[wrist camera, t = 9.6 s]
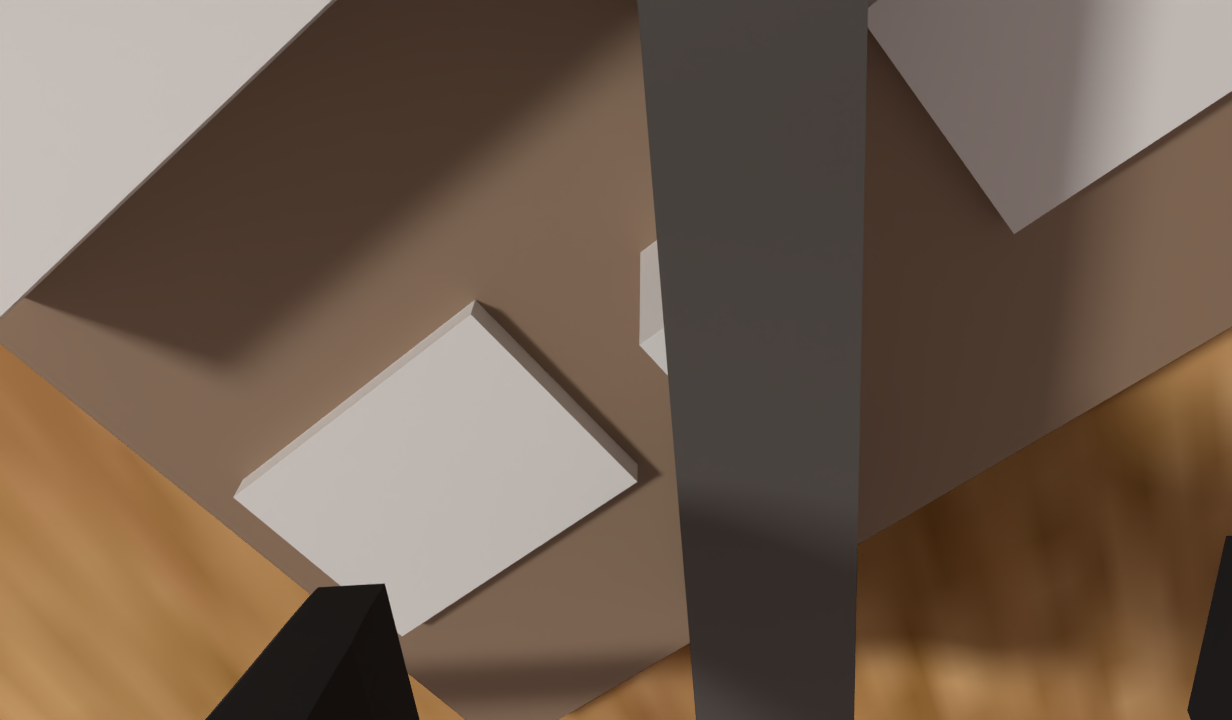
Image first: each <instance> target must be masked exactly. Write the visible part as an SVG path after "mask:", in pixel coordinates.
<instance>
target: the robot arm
mask: <svg viewBox="0 0 1232 720" xmlns="http://www.w3.org/2000/svg"><path fill="white" fill-rule="evenodd" d="M1187 711H1188V713H1189V716H1190V719H1191V720H1232V536H1226V540H1225V544H1224V549H1223V553H1222V558H1221V562H1220V567H1219V571H1218V576H1217V580H1216V584H1215V589H1214V593H1213V598H1212V602H1211V607H1210V611H1209V616H1208V620H1207V625H1206V629H1205V634H1204V638H1203V643H1202V647H1201V652H1200V656H1199V661H1198V665H1197V670H1196V674H1195V678H1194V683H1193V687H1192V692H1191V696H1190V701H1189V705H1188V710H1187ZM205 720H419V716H418V712H417V708H416V705H415V701H414V697H413V693H412V689H411V685H410V681H409V677H408V673H407V669H406V665H405V661H404V657H403V653H402V649H401V645H400V642H399V638H398V634H397V630H396V626H395V622H394V618H393V614H392V610H391V606H390V602H389V598H388V594H387V590H386V586H385V583H384V584H366V585H348V586H331V587H318V588H317V589H316V590H315V591H314V592H313V593H312V594H311V595H310V596H309V597H308V599H307V600H306V601H305V602H304V603H303V604H302V606H301V607H300V608H299V609H298V610H297V611H296V612H295V614H294V615H293V616H292V617H291V618H290V619H289V621H288V622H287V623H286V624H285V625H284V627H283V628H282V629H281V630H280V631H279V633H278V634H277V635H276V636H275V637H274V639H273V640H272V641H271V642H270V643H269V645H268V646H267V647H266V648H265V649H264V651H263V652H262V653H261V654H260V655H259V657H258V658H257V659H256V660H255V661H254V663H253V664H252V665H251V666H250V667H249V669H248V670H247V671H246V672H245V673H244V675H243V676H242V677H241V678H240V679H239V681H238V682H237V683H236V684H235V685H234V686H233V688H232V689H231V690H230V691H229V692H228V694H227V695H226V696H225V697H224V698H223V699H222V701H221V702H220V703H219V704H218V705H217V707H216V708H215V709H214V710H213V711H212V712H211V714H210V715H209V716H208V717H207V718H206V719H205Z"/></svg>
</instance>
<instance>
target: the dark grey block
mask: <svg viewBox="0 0 1232 720" xmlns="http://www.w3.org/2000/svg"><path fill="white" fill-rule="evenodd" d="M637 4H638V16H639V29H640V41H641V53H642V65H643V78H644V90H645V102H646V114H647V126H648V139H649V151H650V163H651V175H652V187H653V200H654V212H655V224H656V236H657V248H658V261H659V273H660V285H661V297H662V310H663V322H664V334H665V346H666V358H667V371H668V383H669V395H670V407H671V419H672V432H673V444H674V456H675V468H676V480H677V493H678V505H679V517H680V529H681V542H682V554H683V566H684V578H685V590H686V603H687V615H688V627H689V639H690V651H691V664H692V676H693V688H694V700H695V713H696V720H854V694H855V642H856V591H857V540H858V489H859V438H860V387H861V336H862V284H863V233H864V182H865V131H866V80H867V29H868V0H637Z"/></svg>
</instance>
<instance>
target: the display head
mask: <svg viewBox="0 0 1232 720" xmlns="http://www.w3.org/2000/svg"><path fill="white" fill-rule="evenodd" d="M1230 327H1232V0H868V29H867V80H866V131H865V182H864V233H863V284H862V336H861V387H860V438H859V489H858V540H857V545H858V544H860V543H862V542H864V541H865V540H867V539H869V538H870V537H872V536H874V535H876V534H877V533H879V532H881V531H882V530H884V529H886V528H888V527H889V526H891V525H893V524H894V523H896V522H898V521H900V520H901V519H903V518H905V517H906V516H908V515H910V514H912V513H913V512H915V511H917V510H918V509H920V508H922V507H924V506H925V505H927V504H929V503H930V502H932V501H934V500H936V499H937V498H939V497H941V496H942V495H944V494H946V493H948V492H949V491H951V490H953V489H954V488H956V487H958V486H960V485H961V484H963V483H965V482H966V481H968V480H970V479H971V478H973V477H975V476H977V475H978V474H980V473H982V472H983V471H985V470H987V469H989V468H990V467H992V466H994V465H995V464H997V463H999V462H1001V461H1002V460H1004V459H1006V458H1007V457H1009V456H1011V455H1013V454H1014V453H1016V452H1018V451H1019V450H1021V449H1023V448H1025V447H1026V446H1028V445H1030V444H1031V443H1033V442H1035V441H1037V440H1038V439H1040V438H1042V437H1043V436H1045V435H1047V434H1049V433H1050V432H1052V431H1054V430H1055V429H1057V428H1059V427H1061V426H1062V425H1064V424H1066V423H1067V422H1069V421H1071V420H1073V419H1074V418H1076V417H1078V416H1079V415H1081V414H1083V413H1085V412H1086V411H1088V410H1090V409H1091V408H1093V407H1095V406H1097V405H1098V404H1100V403H1102V402H1103V401H1105V400H1107V399H1109V398H1110V397H1112V396H1114V395H1115V394H1117V393H1119V392H1121V391H1122V390H1124V389H1126V388H1127V387H1129V386H1131V385H1132V384H1134V383H1136V382H1138V381H1139V380H1141V379H1143V378H1144V377H1146V376H1148V375H1150V374H1151V373H1153V372H1155V371H1156V370H1158V369H1160V368H1162V367H1163V366H1165V365H1167V364H1168V363H1170V362H1172V361H1174V360H1175V359H1177V358H1179V357H1180V356H1182V355H1184V354H1186V353H1187V352H1189V351H1191V350H1192V349H1194V348H1196V347H1198V346H1199V345H1201V344H1203V343H1204V342H1206V341H1208V340H1210V339H1211V338H1213V337H1215V336H1216V335H1218V334H1220V333H1222V332H1223V331H1225V330H1227V329H1228V328H1230ZM0 344H2V345H3V346H4V347H5V348H6V349H8V350H9V351H10V352H11V353H13V354H14V355H15V356H16V357H18V358H19V359H20V360H21V361H23V362H24V363H25V364H26V365H28V366H29V367H30V368H31V369H32V370H34V371H35V372H36V373H37V374H39V375H40V376H41V377H42V378H44V379H45V380H46V381H47V382H49V383H50V384H51V385H52V386H53V387H55V388H56V389H57V390H58V391H60V392H61V393H62V394H63V395H65V396H66V397H67V398H68V399H70V400H71V401H72V402H73V403H74V404H76V405H77V406H78V407H79V408H81V409H82V410H83V411H84V412H86V413H87V414H88V415H89V416H91V417H92V418H93V419H94V420H96V421H97V422H98V423H99V424H100V425H102V426H103V427H104V428H105V429H107V430H108V431H109V432H110V433H112V434H113V435H114V436H115V437H117V438H118V439H119V440H120V441H121V442H123V443H124V444H125V445H126V446H128V447H129V448H130V449H131V450H133V451H134V452H135V453H136V454H138V455H139V456H140V457H141V458H142V459H144V460H145V461H146V462H147V463H149V464H150V465H151V466H152V467H154V468H155V469H156V470H157V471H159V472H160V473H161V474H162V475H164V476H165V477H166V478H167V479H168V480H170V481H171V482H172V483H173V484H175V485H176V486H177V487H178V488H180V489H181V490H182V491H183V492H185V493H186V494H187V495H188V496H189V497H191V498H192V499H193V500H194V501H196V502H197V503H198V504H199V505H201V506H202V507H203V508H204V509H206V510H207V511H208V512H209V513H210V514H212V515H213V516H214V517H215V518H217V519H218V520H219V521H220V522H222V523H223V524H224V525H225V526H227V527H228V528H229V529H230V530H232V531H233V532H234V533H235V534H236V535H238V536H239V537H240V538H241V539H243V540H244V541H245V542H246V543H248V544H249V545H250V546H251V547H253V548H254V549H255V550H256V551H257V552H259V553H260V554H261V555H262V556H264V557H265V558H266V559H267V560H269V561H270V562H271V563H272V564H274V565H275V566H276V567H277V568H278V569H280V570H281V571H282V572H283V573H285V574H286V575H287V576H288V577H290V578H291V579H292V580H293V581H295V582H296V583H297V584H298V585H300V586H301V587H302V588H303V589H304V590H306V591H307V592H308V593H309V594H312V593H313V592H314V591H315V590H316V589H317V588H318V587H331V586H348V585H366V584H384V583H385V586H386V590H387V594H388V598H389V602H390V606H391V610H392V614H393V618H394V622H395V626H396V630H397V634H398V638H399V642H400V645H401V649H402V653H403V657H404V661H405V665H406V669H407V673H408V674H410V675H411V676H412V677H413V678H414V679H416V680H417V681H418V682H419V683H421V684H422V685H423V686H424V687H426V688H427V689H428V690H429V691H431V692H432V693H433V694H434V695H436V696H437V697H438V698H439V699H440V700H442V701H443V702H444V703H445V704H447V705H448V706H449V707H450V708H452V709H453V710H454V711H455V712H457V713H458V714H459V715H460V716H461V717H463V718H464V719H465V720H559V719H560V718H562V717H564V716H566V715H567V714H569V713H571V712H572V711H574V710H576V709H578V708H579V707H581V706H583V705H584V704H586V703H588V702H590V701H591V700H593V699H595V698H596V697H598V696H600V695H602V694H603V693H605V692H607V691H608V690H610V689H612V688H614V687H615V686H617V685H619V684H620V683H622V682H624V681H626V680H627V679H629V678H631V677H632V676H634V675H636V674H638V673H639V672H641V671H643V670H644V669H646V668H648V667H650V666H651V665H653V664H655V663H656V662H658V661H660V660H661V659H663V658H665V657H667V656H668V655H670V654H672V653H673V652H675V651H677V650H679V649H680V648H682V647H684V646H685V645H687V644H689V643H690V639H689V627H688V615H687V603H686V590H685V578H684V566H683V554H682V542H681V529H680V517H679V505H678V493H677V480H676V468H675V456H674V444H673V432H672V419H671V407H670V395H669V383H668V371H667V358H666V346H665V334H664V322H663V310H662V297H661V285H660V273H659V261H658V248H657V236H656V224H655V212H654V200H653V187H652V175H651V163H650V151H649V139H648V126H647V114H646V102H645V90H644V78H643V65H642V53H641V41H640V29H639V16H638V4H637V0H0Z"/></svg>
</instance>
